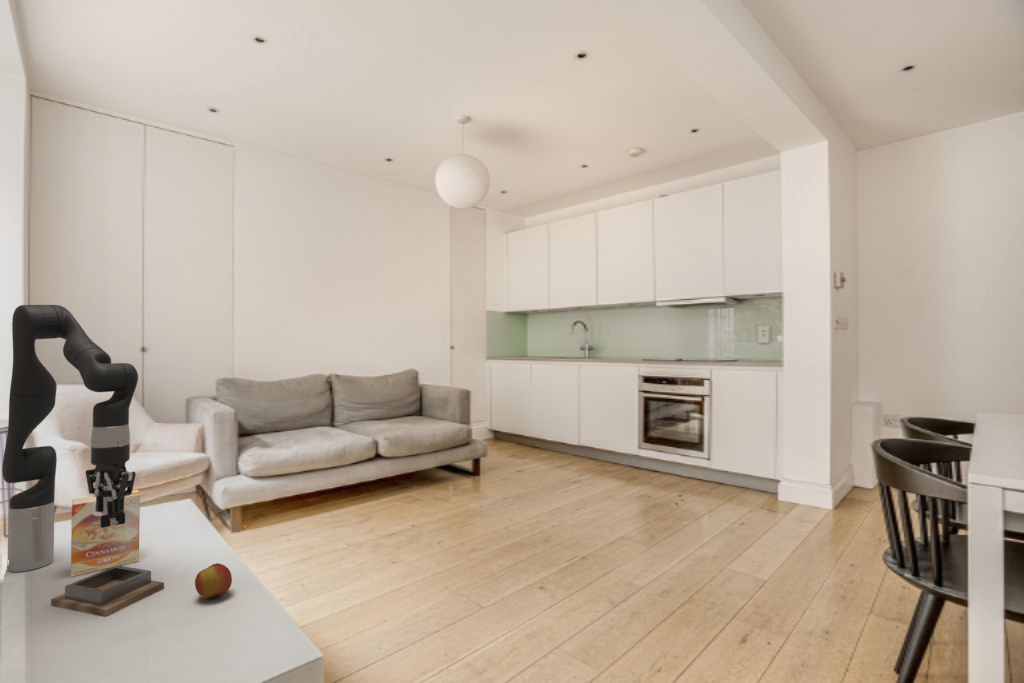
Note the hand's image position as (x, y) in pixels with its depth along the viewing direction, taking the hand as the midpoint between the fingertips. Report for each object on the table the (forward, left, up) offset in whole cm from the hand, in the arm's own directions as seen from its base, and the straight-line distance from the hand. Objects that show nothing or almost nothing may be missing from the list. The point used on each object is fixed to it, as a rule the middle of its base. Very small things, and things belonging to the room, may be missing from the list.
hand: (110, 511), depth 124 cm
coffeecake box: (-20, +13, -21) cm, 32 cm away
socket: (0, 0, -19) cm, 19 cm away
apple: (+25, +7, -21) cm, 34 cm away
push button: (0, 0, -4) cm, 4 cm away
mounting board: (0, 0, -21) cm, 21 cm away
